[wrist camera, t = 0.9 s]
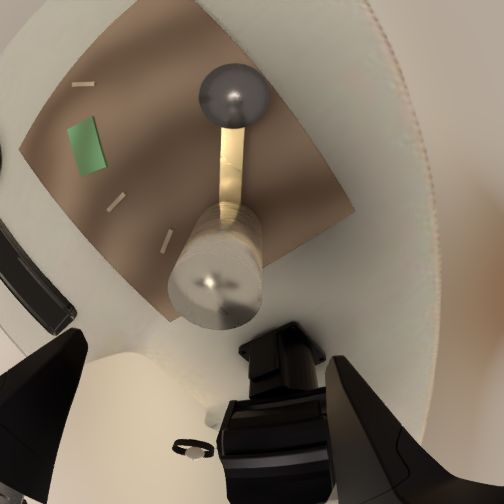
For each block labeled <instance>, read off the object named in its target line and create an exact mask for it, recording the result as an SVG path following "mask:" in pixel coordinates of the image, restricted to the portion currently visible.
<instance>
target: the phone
mask: <svg viewBox="0 0 504 504" xmlns="http://www.w3.org/2000/svg"><path fill="white" fill-rule="evenodd" d="M0 279H1V280H2V282H3V283H4V284H5V285H6V287H7V288H8V289H9V290H10V292H11V293H12V294H13V295H14V296H15V297H16V299H17V300H18V301H19V302H20V303H21V304H22V305H23V306H24V308H25V309H26V310H27V311H28V312H29V313H30V314H31V315H32V316H33V317H34V318H35V319H36V320H37V321H38V322H39V323H40V324H41V325H42V326H43V327H44V328H45V329H46V330H47V331H48V332H49V333H50V334H52V335H54V336H57V335H58V334H59V333H60V332H61V331H62V330H63V329H64V328H66V327H67V326H68V325H69V324H70V323H71V322H72V321H73V320H74V318H75V317H76V315H77V312H76V309H75V308H74V306H73V305H72V304H71V303H70V302H69V301H68V300H67V299H66V298H65V297H64V296H63V295H62V294H61V293H60V292H59V291H58V290H57V289H56V288H55V286H54V285H53V284H52V283H51V282H50V281H49V280H48V279H47V278H46V276H45V275H44V274H43V273H42V272H41V271H40V270H39V268H38V267H37V266H36V265H35V264H34V262H33V261H32V260H31V259H30V258H29V256H28V255H27V254H26V253H25V251H24V250H23V249H22V247H21V246H20V245H19V244H18V242H17V241H16V240H15V238H14V237H13V236H12V234H11V233H10V231H9V230H8V229H7V227H6V226H5V224H4V223H3V222H2V220H1V219H0Z"/></svg>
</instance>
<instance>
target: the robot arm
mask: <svg viewBox="0 0 504 504" xmlns="http://www.w3.org/2000/svg"><path fill="white" fill-rule="evenodd" d="M293 327H295V328H293ZM87 352H88V343H87V341H86V339H85V337H84V334H83V332H82V331H81V330H80V329H77V328H70V329H68V330H67V331H65V332H64V333H62V334H61V335H59V336H58V337H56V338H55V339H53V340H52V341H50V342H49V343H47V344H46V345H44V346H43V347H41V348H40V349H38V350H37V351H35V352H34V353H32V354H31V355H29V356H28V357H26V358H25V359H24V360H22V361H21V362H19V363H18V364H17V365H15V366H14V367H12V368H11V369H9V370H8V371H7V372H5V373H4V374H2V375H1V376H0V504H27V502H26V500H25V499H23V498H24V495H25V496H28V497H29V498H32V499H34V500H36V501H38V502H41V503H43V504H47V500H48V494H49V489H50V483H51V478H52V474H53V469H54V464H55V460H56V456H57V452H58V448H59V444H60V441H61V437H62V434H63V430H64V427H65V423H66V420H67V417H68V414H69V411H70V407H71V405H72V402H73V399H74V396H75V393H76V390H77V387H78V384H79V381H80V377H81V374H82V370H83V366H84V362H85V359H86V355H87ZM238 353H239V354H240V355H241V356H242V357H243V358H244V359H246V360H247V361H248V362H249V373H248V378H249V379H250V386H249V398H250V400H241V401H237V400H232V401H230V402H229V405H228V408H227V410H226V413H225V416H224V419H223V422H222V425H221V428H220V431H219V434H218V437H217V440H216V443H217V450H218V455H219V458H220V460H221V463H222V465H223V468H224V472H225V477H226V489H227V499H228V500H229V502H230V504H326V503H327V501H328V499H329V497H330V495H331V493H332V490H333V488H334V487H335V484H336V485H337V494H338V503H339V504H504V486H495V485H488V484H483V483H478V482H474V481H469V480H465V479H461V478H458V477H456V476H454V475H452V474H450V473H449V472H448V471H447V470H445V469H444V468H443V467H442V466H441V465H440V464H439V463H438V462H437V461H436V460H435V459H433V458H432V457H431V456H430V455H429V454H428V453H427V452H426V451H425V450H424V449H423V448H422V447H421V446H420V445H419V444H418V443H417V442H416V441H415V440H414V438H413V437H412V436H411V435H410V434H409V433H408V432H407V430H406V429H405V428H404V427H403V426H402V424H401V423H400V422H399V421H398V420H397V418H396V417H395V416H394V415H393V414H392V412H391V411H390V410H389V409H388V408H387V406H386V405H385V404H384V403H383V402H382V400H381V399H380V398H379V397H378V396H377V394H376V393H375V392H374V391H373V390H372V388H371V387H370V386H369V385H368V384H367V382H366V381H365V380H364V379H363V378H362V376H361V375H360V374H359V373H358V372H357V370H356V369H355V368H354V367H353V366H352V364H351V363H350V362H349V361H348V360H347V359H346V357H345V356H343V355H334V356H332V357H331V359H330V361H329V364H328V366H327V369H326V373H325V379H326V386H325V387H321V388H318V382H317V376H316V369H315V365H317V364H320V363H322V362H324V361H325V360H326V355H325V353H324V352H323V351H322V350H321V349H320V348H319V347H318V346H317V344H316V343H315V342H314V341H313V340H312V339H311V338H310V337H309V336H308V334H307V333H306V332H305V331H304V330H303V329H302V328H301V327H300V325H299V324H298V323H296V322H292V323H289V324H287V325H285V326H283V327H281V328H279V329H277V330H275V331H273V332H271V333H269V334H267V335H265V336H263V337H260V338H258V339H256V340H254V341H252V342H250V343H247V344H245V345H243V346H241V347H239V350H238Z"/></svg>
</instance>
